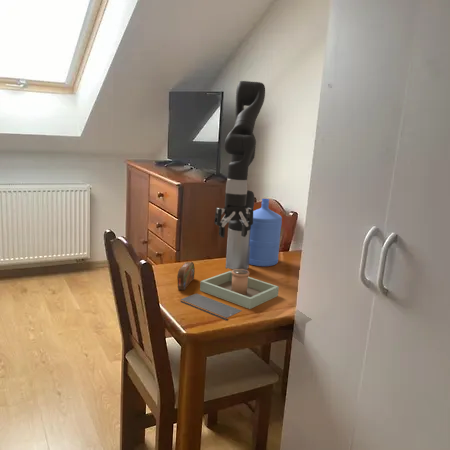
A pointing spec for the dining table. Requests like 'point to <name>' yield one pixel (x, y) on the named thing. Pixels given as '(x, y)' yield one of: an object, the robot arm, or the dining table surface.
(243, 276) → the clay pot
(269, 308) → the dining table surface
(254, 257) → the water jug
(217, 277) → the pale green tray
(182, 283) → the tin
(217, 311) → the slate tile
